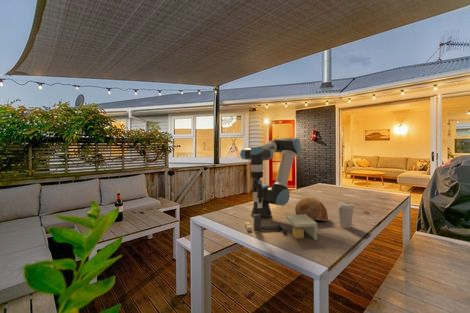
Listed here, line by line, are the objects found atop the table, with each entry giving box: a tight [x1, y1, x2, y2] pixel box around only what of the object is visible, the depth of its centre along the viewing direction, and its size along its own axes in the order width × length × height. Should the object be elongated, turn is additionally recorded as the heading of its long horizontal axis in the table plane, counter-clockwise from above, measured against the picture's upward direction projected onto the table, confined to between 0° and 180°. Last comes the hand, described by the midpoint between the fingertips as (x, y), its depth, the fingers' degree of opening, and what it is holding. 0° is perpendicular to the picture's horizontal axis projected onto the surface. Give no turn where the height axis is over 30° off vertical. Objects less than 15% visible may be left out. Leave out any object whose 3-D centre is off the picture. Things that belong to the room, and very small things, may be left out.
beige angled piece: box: [285, 214, 318, 241], centre depth 135 cm, size 16×13×10 cm
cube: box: [291, 226, 305, 239], centre depth 133 cm, size 5×5×5 cm
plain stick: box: [244, 221, 253, 232], centre depth 146 cm, size 10×3×3 cm, turn 7°
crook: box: [252, 214, 288, 235], centre depth 140 cm, size 10×18×10 cm, turn 96°
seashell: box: [294, 197, 329, 222], centre depth 161 cm, size 21×20×15 cm
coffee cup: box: [337, 201, 355, 229], centre depth 146 cm, size 10×10×15 cm
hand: (257, 204), depth 142 cm, fingers open, 13 cm apart
